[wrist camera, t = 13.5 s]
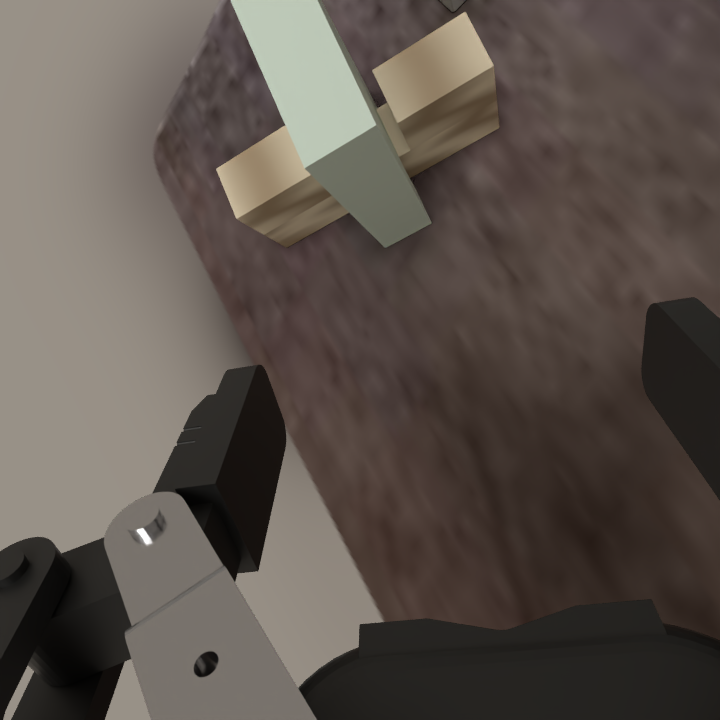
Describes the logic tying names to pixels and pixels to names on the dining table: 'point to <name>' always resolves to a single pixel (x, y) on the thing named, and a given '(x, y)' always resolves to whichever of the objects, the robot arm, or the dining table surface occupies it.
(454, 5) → the coffee box
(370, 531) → the dining table surface
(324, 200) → the birch slotted plate
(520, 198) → the dining table surface
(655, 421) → the dining table surface
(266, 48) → the mint green upright block
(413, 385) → the dining table surface
